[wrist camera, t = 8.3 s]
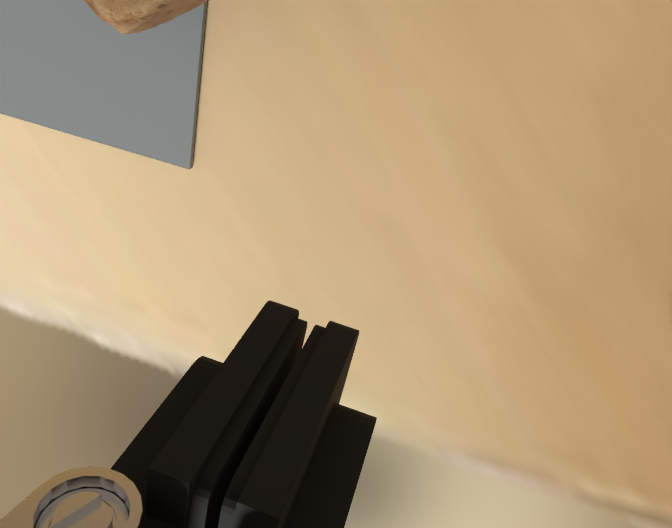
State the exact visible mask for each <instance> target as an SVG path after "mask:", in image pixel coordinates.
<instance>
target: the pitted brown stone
mask: <svg viewBox="0 0 672 528" xmlns="http://www.w3.org/2000/svg"><path fill="white" fill-rule="evenodd" d="M84 1H85V2H86V3H87V5H88V6H89V7H90V8H91V9H92V10H93V11H94V12H95V13H96V15H97V16H98V17H99V18H100V19H101V20H102V21H105V22H107V23H108V24H110V25H112V26H113V27H115V28H116V29H117V30H118V31H119V32H120V33H121V34H131V33H139V32H142V31H144V30H147V29H150V28H153V27H156V26H158V25H160V24H164V23H167V22H169V21H170V20H172V19H174V18H176V17H178V16H180V15H182V14H184V13H186V12H188V11H190V10H192V9H194V8H196V7H198V6H200V5H201V4H203V3H205V2H206V1H208V0H84Z"/></svg>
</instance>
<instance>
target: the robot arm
mask: <svg viewBox="0 0 672 528" xmlns="http://www.w3.org/2000/svg"><path fill="white" fill-rule="evenodd" d="M298 317H299V311H298V310H297V309H294V308H291V307H288V306H285V305H282V304H279V303H276V302H273V301H268V302H267V303H266V304H265V305H264V307H263V308H262V310H261V311H260V312H259V314H258V315H257V317H256V318H255V319H254V321H253V322H252V324H251V325H250V326H249V328H248V329H247V331H246V332H245V333H244V335H243V336H242V338H241V339H240V340H239V342H238V343H237V345H236V346H235V347H234V349H233V350H232V352H231V353H230V354H229V356H228V357H227V359H226V360H225V361H224V363H221V362H218V361H216V360H213V359H210V358H207V357H204V356H202V357H200V358H198V359H197V360H196V361H195V362H194V363H193V365H192V366H191V367H190V368H189V370H188V371H187V372H186V373H185V375H184V376H183V377H182V379H181V380H180V381H179V383H178V384H177V385H176V386H175V388H174V389H173V390H172V391H171V393H170V394H169V395H168V396H167V398H166V399H165V400H164V402H163V403H162V404H161V405H160V407H159V408H158V409H157V411H156V412H155V413H154V414H153V416H152V417H151V418H150V420H149V421H148V422H147V423H146V424H145V426H144V427H143V429H142V430H141V431H140V432H139V433H138V435H137V436H136V437H135V439H134V440H133V441H132V442H131V444H130V445H129V446H128V447H127V449H126V450H125V451H124V453H123V454H122V455H121V456H120V458H119V459H118V460H117V461H116V463H115V464H114V465H113V466H112V468H111V469H109V468H102V467H92V466H90V467H82V468H75V469H71V470H68V471H66V472H63V473H61V474H58V475H55V476H54V477H52V478H51V479H49V480H48V481H46V482H45V483H43V484H42V485H40V486H39V487H38V488H37V489H35V491H33V492H32V493H31V494H30V495H29V496H27V497H26V498H25V499H24V500H23V501H22V502H21V503H19V504H18V505H17V506H16V507H15V508H14V509H13V510H12V511H10V512H9V513H8V514H7V515H6V516H5V517H3V518H2V519H1V520H0V528H344V526H345V522H346V519H347V515H348V512H349V509H350V505H351V502H352V499H353V496H354V493H355V489H356V486H357V483H358V479H359V476H360V472H361V469H362V466H363V463H364V459H365V456H366V453H367V449H368V446H369V443H370V439H371V436H372V433H373V430H374V426H375V423H376V419H377V418H376V417H373V416H370V415H367V414H365V413H362V412H359V411H356V410H353V409H351V408H348V407H345V406H342V405H339V402H340V398H341V395H342V391H343V388H344V384H345V381H346V377H347V374H348V370H349V367H350V363H351V360H352V356H353V353H354V349H355V346H356V342H357V339H358V335H359V330H356V329H353V328H350V327H347V326H344V325H341V324H338V323H335V322H332V321H329V323H328V324H327V326H326V328H324V327H321V326H318V325H315V326H314V328H313V330H312V332H311V334H310V335H309V337H308V339H307V341H306V343H305V345H304V347H303V348H302V346H303V342H304V337H305V333H306V328H307V321H304V320H301V319H298Z"/></svg>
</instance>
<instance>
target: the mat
mask: <svg viewBox="0 0 672 528" xmlns="http://www.w3.org/2000/svg"><path fill="white" fill-rule="evenodd" d="M206 10H207V1H206V2H205V3H203V4H201V5H200V6H198V7H196V8H194V9H192V10H190V11H188V12H186V13H184V14H182V15H180V16H178V17H176V18H174V19H172V20H170V21H169V22H167V23H164V24H160V25H158V26H156V27H153V28H150V29H147V30H144V31H142V32H139V33H131V34H121V33H120V32H119V31H118V30H117V29H116V28H115V27H113V26H112V25H110V24H108V23H107V22H105V21H102V20H101V19H100V18H99V17H98V16H97V15H96V13H95V12H94V11H93V10H92V9H91V8H90V7H89V6H88V5H87V3H86V2H85V1H84V0H0V113H1V114H4V115H8V116H11V117H14V118H18V119H21V120H24V121H28V122H31V123H35V124H38V125H41V126H45V127H48V128H51V129H55V130H58V131H62V132H65V133H68V134H72V135H75V136H78V137H82V138H85V139H89V140H92V141H95V142H99V143H102V144H105V145H109V146H112V147H116V148H119V149H122V150H126V151H129V152H132V153H136V154H139V155H143V156H146V157H149V158H153V159H156V160H159V161H163V162H166V163H170V164H173V165H176V166H180V167H183V168H186V169H191V168H192V166H193V155H194V144H195V133H196V122H197V111H198V99H199V88H200V77H201V66H202V55H203V44H204V33H205V22H206Z"/></svg>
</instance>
